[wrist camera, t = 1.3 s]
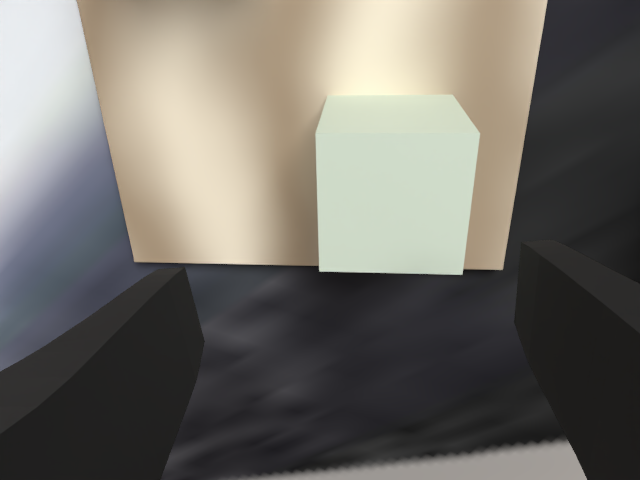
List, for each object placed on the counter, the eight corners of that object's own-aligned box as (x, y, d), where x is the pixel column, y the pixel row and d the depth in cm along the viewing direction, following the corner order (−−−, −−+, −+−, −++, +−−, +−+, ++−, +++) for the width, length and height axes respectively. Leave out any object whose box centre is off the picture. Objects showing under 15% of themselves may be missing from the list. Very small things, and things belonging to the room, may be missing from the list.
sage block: (452, 94, 18) (480, 133, 14) (441, 209, 20) (462, 274, 16) (327, 95, 19) (315, 133, 14) (329, 207, 21) (319, 271, 16)
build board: (611, -434, 13) (626, -458, 12) (499, 262, 22) (503, 272, 21) (4, -380, 14) (-16, -399, 13) (140, 255, 23) (132, 264, 23)
